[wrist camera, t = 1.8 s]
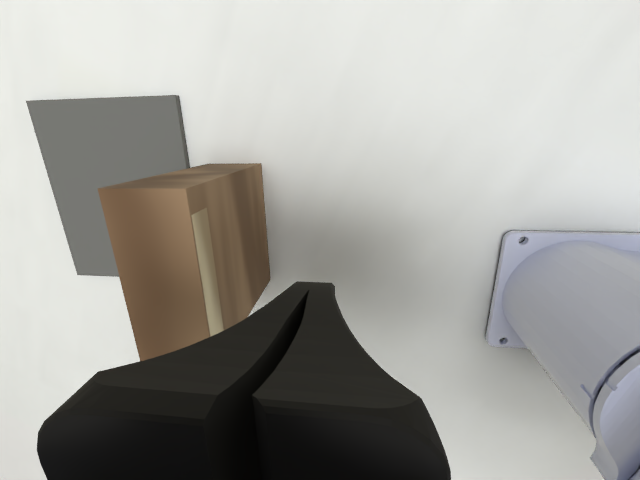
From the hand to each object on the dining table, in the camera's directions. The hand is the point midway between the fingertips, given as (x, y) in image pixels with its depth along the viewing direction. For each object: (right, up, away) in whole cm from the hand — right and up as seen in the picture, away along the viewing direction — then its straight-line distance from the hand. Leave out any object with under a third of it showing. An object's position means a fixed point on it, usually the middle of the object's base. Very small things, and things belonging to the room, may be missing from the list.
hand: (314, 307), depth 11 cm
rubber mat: (-13, +5, +11) cm, 18 cm away
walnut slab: (-5, +3, +10) cm, 12 cm away
